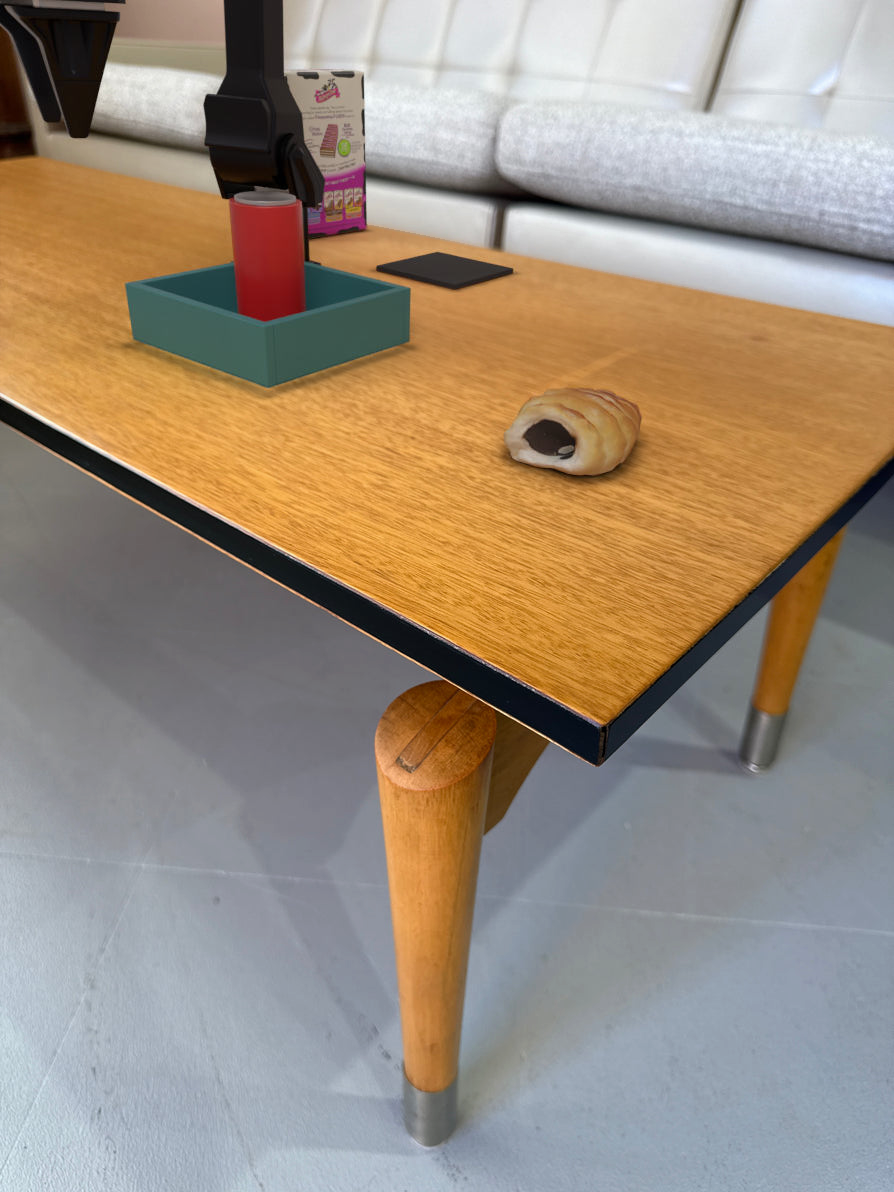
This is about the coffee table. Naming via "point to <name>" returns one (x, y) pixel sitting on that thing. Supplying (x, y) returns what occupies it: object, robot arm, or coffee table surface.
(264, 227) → the can
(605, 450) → the pastry
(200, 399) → the coffee table surface
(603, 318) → the coffee table surface
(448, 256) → the mat
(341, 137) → the candy bar box
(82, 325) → the coffee table surface
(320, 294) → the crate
